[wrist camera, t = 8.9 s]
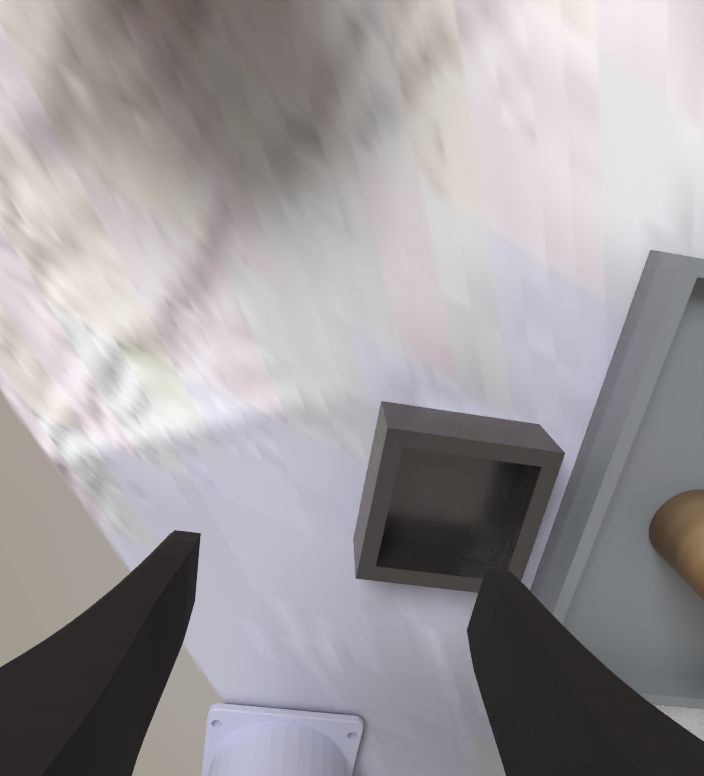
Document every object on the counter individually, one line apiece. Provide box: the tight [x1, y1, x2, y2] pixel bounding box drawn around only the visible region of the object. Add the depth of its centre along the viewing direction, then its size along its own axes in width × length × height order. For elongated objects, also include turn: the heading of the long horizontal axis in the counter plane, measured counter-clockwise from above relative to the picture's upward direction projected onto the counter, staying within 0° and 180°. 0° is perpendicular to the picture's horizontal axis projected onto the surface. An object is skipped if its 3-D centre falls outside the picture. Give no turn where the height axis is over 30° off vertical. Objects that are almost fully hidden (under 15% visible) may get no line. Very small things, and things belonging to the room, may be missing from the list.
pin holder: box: [353, 401, 565, 593], centre depth 22 cm, size 7×7×3 cm
